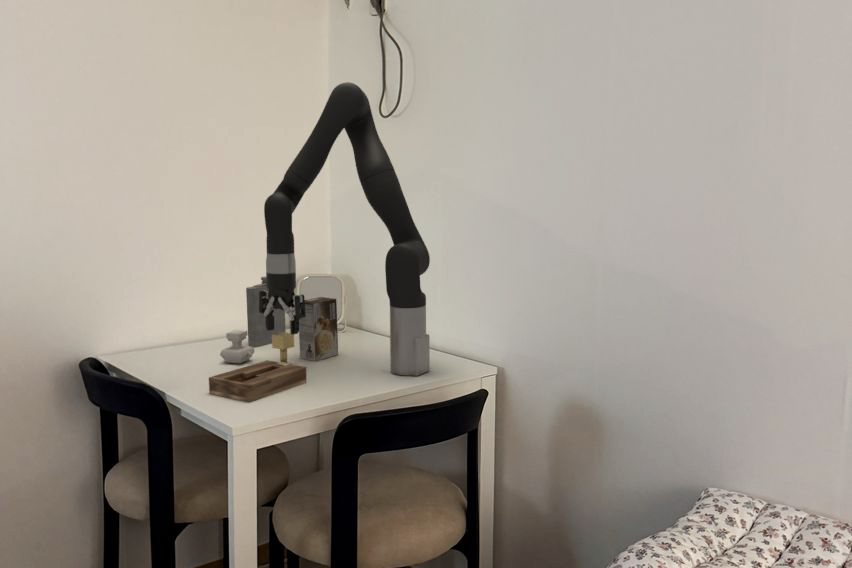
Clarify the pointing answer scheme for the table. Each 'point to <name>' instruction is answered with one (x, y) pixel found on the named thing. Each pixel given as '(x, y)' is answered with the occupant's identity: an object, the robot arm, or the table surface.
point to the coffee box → (318, 329)
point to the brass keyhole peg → (283, 344)
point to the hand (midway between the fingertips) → (282, 331)
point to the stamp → (237, 348)
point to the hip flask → (261, 318)
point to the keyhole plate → (257, 380)
